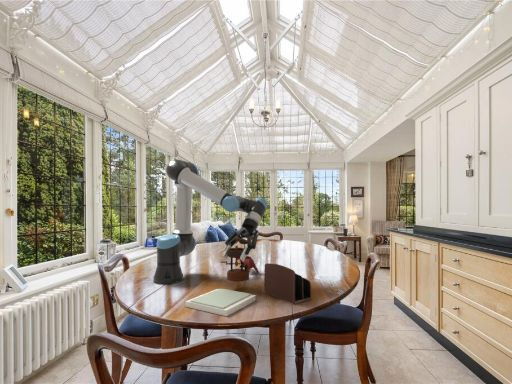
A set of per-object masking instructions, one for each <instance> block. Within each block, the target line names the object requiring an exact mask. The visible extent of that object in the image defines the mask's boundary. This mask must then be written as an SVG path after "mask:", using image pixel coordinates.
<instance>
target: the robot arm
mask: <svg viewBox="0 0 512 384" xmlns="http://www.w3.org/2000/svg"><path fill="white" fill-rule="evenodd" d="M166 165H167V166H166V168H165V169H166V170H165V172H166V174H167V176H168V178H169V179H171V180H172V181H174V184H173V185H174V186H175V187H176V198H175V200H176V201H175V202H176V203H175V223H174V230H173V231H172V232H171V234H166V235H161V236H159V237H158V238H157V241H156V267H155V268H156V269H155V272H154V275H153V277H152V278H153V283H154V284H159V285H160V284H161V285H162V284H163V285H164V284H165V285H168V284H175V283H179V282H182V281H183V280H184V273H183V271H182V268H181V257H184V256H188V255H190V254H191V253H192V252H193V251H194V250H195V248H196V246H197V245H196V244H197V242H196V238H195V237H194V232H193V231H192V230H191V229H192V228H191V225H192V224H191V221H192V201H193V200H192V198H193V190H194V191H195V192H197V193H199V194H200V195H201V196H203V197H206V198H207V199H209V200H210V201H212V202H214V203H216V204H217V205H219V206H221V208H223V209H224V210H225V211H226V212H229V213H235V212H242V213H246V214H247V215H246V216H245V219H244V220H243V222H242V225H241V228H239V229H237V228H234V230H233V232H232V233H231V234H230V235H229V237H228V238H227V239H226V240H225V242H224V244H225V245H226V247H225V249H224V252H223V254H222V257H223V258H224V260H227V259H228V257H229V256H228V255H227V251H228V249H230V248H233V246H235V245H236V244H237V243H236V237H240V239H241V238H243V239H246V240H247V241H248V242H252V243H247V244H246V246H245V249H244V251H243V253H242V255H241V257H240V259H241V260H242V262H244V260H245V258H246V256H249V255H248V254H250V252H251V250H256V247H257V244H258V243H257V241H258V237H259V235H260V232H259V230H258V229H257V228H258V227H259V225H260V222H261V220H262V219H263V217H264V215H265V212H266V211H267V208H268V201H267V200H266V199H265V198H264V197H256V198H255V199H249V198H246V197H243V196H241V195H234V194H231V193H229V192H228V191H226V190H224V189H222V188H221V187H219V186H217V185H216V184H214V183H212V182H210V181H209V180H207V179H205V178H203V177H202V176H199V174H200V172H199V169H198V167H197V165H196V164H194V163H193V162H190V161H186V160H182V159H173V160H170V161H169V162H168V164H166ZM252 235H253V236H252Z"/></svg>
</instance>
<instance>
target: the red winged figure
mask: <svg viewBox="0 0 512 384" xmlns="http://www.w3.org/2000/svg"><path fill="white" fill-rule="evenodd" d="M247 256H248V257H250V256H249V255H247ZM237 259H238V260H239V263H241V259H240V258H237ZM238 260H237V261H238ZM244 262H245V265H248V262H249V265H250V268H249V269H247V270H248V271H249V274H250V273H251V270H252V269H253V270H255V272H257V274H258V273H259V272H260V271H259V270H258V267H257V265H256V263H255V260H254V259H253V258H252V257H251V259H245V260H244ZM244 262H243V263H244ZM243 266H244V265H243ZM243 269H245V268H243Z"/></svg>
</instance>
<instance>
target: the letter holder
mask: <svg viewBox="0 0 512 384" xmlns="http://www.w3.org/2000/svg"><path fill="white" fill-rule="evenodd" d="M263 275H264V276H263V279H264V280H263V293H264V294H267V295H268V296H271V297H274V298H276V299H278V300H282V301H283V302H286V303H289V304H292V305H297V304H298V305H299V304H302V303H304V302H308V301H311V300H312V283H311V281H310V280H309V279H308V278H305V277H303V276H302V275H300V274H298V273H296V272H295V270H294V269H292V268H289V267H287V266H285V265H281V264H277V263H268V262H267V263H265V264H264V274H263Z"/></svg>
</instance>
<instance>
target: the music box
mask: <svg viewBox="0 0 512 384" xmlns="http://www.w3.org/2000/svg"><path fill="white" fill-rule="evenodd" d="M238 243H239V244H240V245H243V247H239V246H238V245H235V246H234V247H231V248H230V249H228V251H227V255H228V257H229V258H230V262H228V261H227V260H225V261H220V264H221V263H222V264H223V263H225V264H226V266H228V265H229V266H230V269H228V271H226V281H228V282H229V281H230V282H235V283H237V282H245V281H248V280H249V279H250V273H249V271H250V270H249V271H248V270H247V269H249V268H250V265H249V262H248V265H245V262H244V263H243V262H242V260H241V263H240V262H238V259H237V258H240V257H241V255H242V253H243V251H244V249H245V247H246V245H247V243H251V244H252V241H251V242H248V241H247V238H241V239H240V237H236V243H235V244H238ZM249 254H250V253H249ZM249 254H248V255H247V256H246V258H245V259H251V258H252V257H251V256H249ZM248 256H249V257H248ZM233 259H235V261H234V260H233ZM233 261H234V262H233ZM233 265H234V266H235V267H238V266H239V268H233V267H234V266H233ZM243 265H244V266H243ZM244 268H245V269H244Z"/></svg>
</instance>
